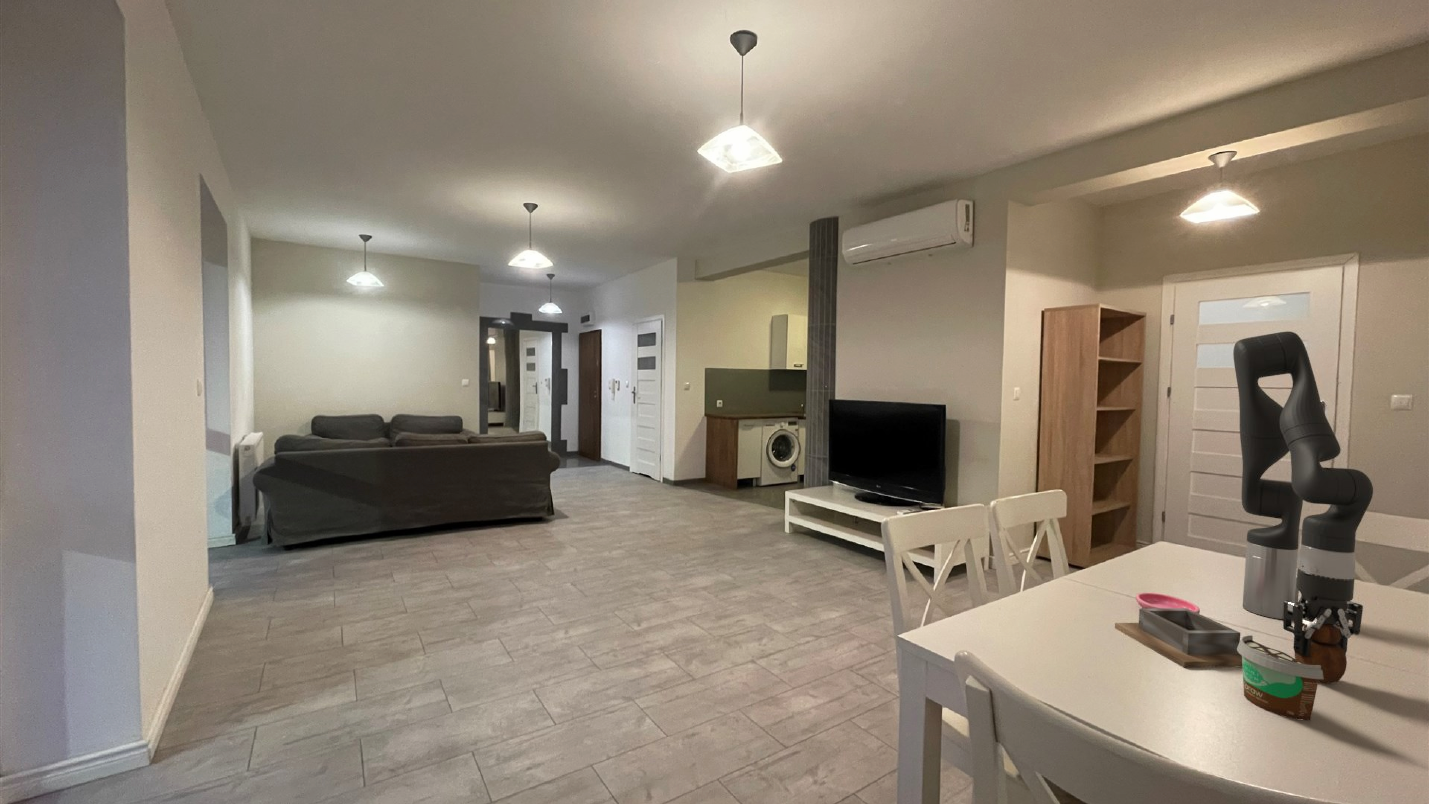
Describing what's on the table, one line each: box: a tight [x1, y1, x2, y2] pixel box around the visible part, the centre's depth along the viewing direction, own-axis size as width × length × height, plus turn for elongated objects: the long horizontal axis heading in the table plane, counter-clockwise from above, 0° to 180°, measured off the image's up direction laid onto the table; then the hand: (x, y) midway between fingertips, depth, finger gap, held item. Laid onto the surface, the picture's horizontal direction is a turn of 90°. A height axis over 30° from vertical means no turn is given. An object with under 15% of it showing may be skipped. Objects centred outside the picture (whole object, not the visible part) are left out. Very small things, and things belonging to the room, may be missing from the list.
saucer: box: [1135, 592, 1201, 614], centre depth 141 cm, size 12×12×3 cm
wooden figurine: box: [1294, 619, 1348, 684], centre depth 110 cm, size 7×6×15 cm
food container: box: [1237, 634, 1324, 721], centre depth 101 cm, size 12×6×10 cm, turn 5°
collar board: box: [1114, 608, 1243, 669], centre depth 123 cm, size 18×18×6 cm
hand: (1319, 654), depth 110 cm, fingers closed on wooden figurine, 7 cm apart
